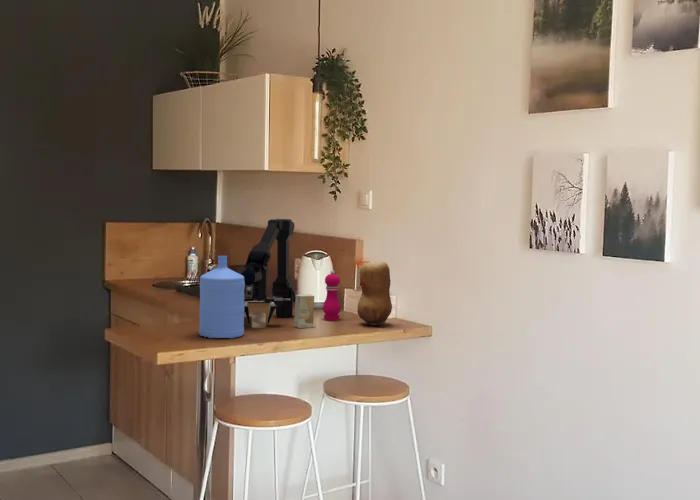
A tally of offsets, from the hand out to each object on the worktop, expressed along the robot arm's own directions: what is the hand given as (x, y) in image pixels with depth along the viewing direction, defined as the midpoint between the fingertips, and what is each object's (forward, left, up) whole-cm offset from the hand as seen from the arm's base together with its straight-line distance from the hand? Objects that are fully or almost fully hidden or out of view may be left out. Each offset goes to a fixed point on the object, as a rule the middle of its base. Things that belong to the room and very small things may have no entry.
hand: (258, 323), depth 296 cm
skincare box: (-17, +2, -1) cm, 17 cm away
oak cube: (0, 0, -1) cm, 1 cm away
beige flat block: (+5, -9, -1) cm, 10 cm away
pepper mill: (-30, -14, -1) cm, 33 cm away
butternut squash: (-45, -1, -1) cm, 45 cm away
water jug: (+14, +17, -1) cm, 22 cm away
